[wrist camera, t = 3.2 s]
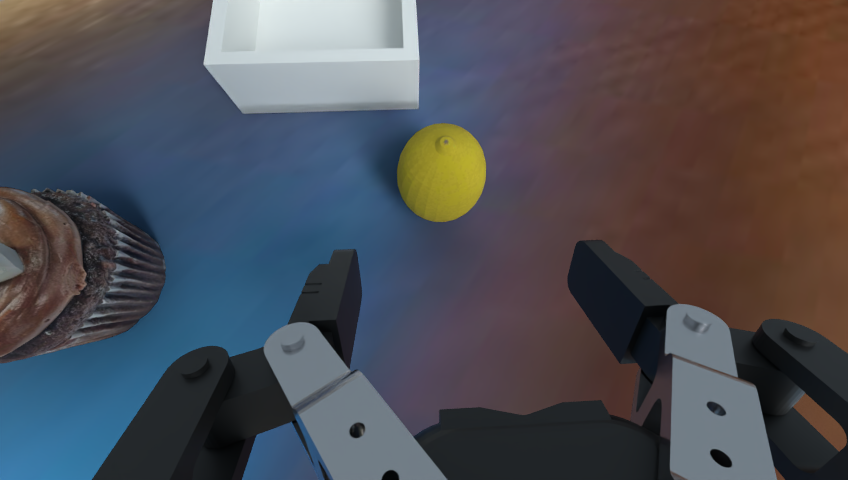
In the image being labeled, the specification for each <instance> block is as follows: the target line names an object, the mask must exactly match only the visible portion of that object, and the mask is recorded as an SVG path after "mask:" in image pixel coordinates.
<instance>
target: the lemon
mask: <svg viewBox="0 0 848 480" xmlns="http://www.w3.org/2000/svg"><path fill="white" fill-rule="evenodd" d="M485 179H486V162H485V158H484V154H483V150H482V148H481V147H480V145H479V143H478V141H477V140H476V139H475V138H474V137H473V136H472V135H471V134H470V133H469V132H468V131H466V130H465V129H463V128H461V127H459V126H456V125H453V124H446V123H441V124H433V125H430V126H427V127H425V128H423V129H421V130H420V131H418V132H416V133H415V134H414V136H413V137H412V138H411V139H410V140H409V141H408V142H407V144H406V145H405V147H404V149H403V151H402V153H401V155H400V159H399V163H398V168H397V183H398V187H399V190H400V194H401V196H402V198H403V200H404V201H405V203H406V204H407V206H408V207H409V208H410V209H411V210H412V211H413V212H414V213H415V214H416V215H418V216H420V217H422V218H424V219H426V220H430V221H434V222H446V221H450V220H454V219H457V218H458V217H460V216H462V215H464V214H465V213H467V212H468V211H469V210H470V209H471V208H472V207H473V206H474V205H475V203H476V202H477V200H478V199H479V197H480V195H481V193H482V190H483V187H484V184H485Z"/></svg>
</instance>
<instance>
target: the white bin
mask: <svg viewBox="0 0 848 480" xmlns="http://www.w3.org/2000/svg"><path fill="white" fill-rule="evenodd" d="M204 66H205V67H206V68H207V70H208V71H209V72H210V73H211V75H212V76H213V77H214V78H215V79H216V81H217V82H218V83H219V84H220V86H221V87H222V88H223V89H224V91H225V92H226V93H227V94H228V96H229V97H230V98H231V99H232V101H233V102H234V103H235V104H236V105H237V107H238V108H239V109H240V110H241V112H242V113H243V114H250V113H287V112H324V111H360V110H397V109H419V48H418V30H417V13H416V0H213V6H212V12H211V19H210V25H209V32H208V39H207V45H206V52H205V59H204Z"/></svg>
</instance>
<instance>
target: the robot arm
mask: <svg viewBox="0 0 848 480" xmlns="http://www.w3.org/2000/svg"><path fill="white" fill-rule="evenodd" d="M568 287H569V290H570V292H571V294H572V295H573V296H574V298H575V299H576V301H577V302H578V304H579V305H580V307H581V308H582V309H583V311H584V312H585V314H586V315H587V317H588V318H589V320H590V321H591V322H592V324H593V325H594V327H595V328H596V330H597V331H598V333H599V334H600V335H601V337H602V338H603V340H604V341H605V343H606V344H607V346H608V347H609V348H610V350H611V351H612V353H613V354H614V356H615V357H616V359H617V360H618V361H619V363H620V364H627V363H638V365H639V366H640V368H639V370H638V372H637V375H636V383H635V390H634V397H633V405H632V412H631V419H630V421H629V420H626V419H624V418H620V417H617V416H614V415H609V413H608V412H607V410H606V408H605V406H604V404H603V403H602V401H601V400H598V401H580V402H563V403H559V404H557V405H554V406H551V407H548V408H545V409H542V410H540V411H537V412H534V413H531V414H528V415H518V414H512V413H507V412H502V411H496V410H491V409H486V408H480V407H478V408H461V409H444V410H439V423H438V424H435V425H433V426H430V427H428V428H426V429H424V430H422V431H421V432H419V433H418V434H417V435H415V436H414V437H413V436H412V435H411V434H410V432H409V431H408V430H407V429H406V427H405V426H404V425H403V424H402V422H401V421H400V420H399V419H398V417H397V416H396V415H395V414H394V412H393V411H392V410H391V409H390V407H389V406H388V405H387V404H386V402H385V401H384V400H383V399H382V397H381V396H380V395H379V394H378V392H377V391H376V390H375V389H374V387H373V386H372V385H371V384H370V382H369V381H368V380H367V379H366V377H365V376H364V375H363V374H362V373H361V372H360V371H359V370H354V371H353V372H351V371H350V370H349V368H350V362H351V357H352V351H353V345H354V340H355V334H356V328H357V322H358V317H359V311H360V305H361V298H362V287H361V279H360V272H359V264H358V257H357V252H356V250H355V249H347V250H334V251H333V254H332V257H331V259H330V262H329V264H319V265H318V266H317V267H316V268H315V269H314V270H313V271H312V272H311V273H310V274H309V276H308V278H307V280H306V283H305V286H304V287H303V290H302V294H300V297H299V299H298V301H297V304H296V306H295V308H294V311H293V313H292V315H291V318H290V320H289V322H288V325H286V326H284V327H282V328H280V329H278V330H277V331H275V332H274V333H273V334H272V335H271V336H270V337H269V338H268V339H267V341H266V343H265V345H264V347H261V348H259V349H256V350H253V351H249V352H246V353H243V354H239V355H236V356H232V357H229V355H228V353H227V351H226V350H225V349H223V348H221V347H218V346H207V347H202V348H198V349H196V350H193V351H191V352H189V353H187V354H185V355H183V356H182V357H180V358H179V359H177V360H176V361H175V362H174V363H173V364H172V365H171V366H170V367H169V368H168V369H167V370H166V371H165V373H164V374H163V376H162V377H161V379H160V380H159V382H158V383H157V385H156V386H155V388H154V389H153V391H152V392H151V393H150V395H149V396H148V398H147V399H146V401H145V402H144V404H143V405H142V407H141V408H140V410H139V411H138V413H137V414H136V416H135V417H134V419H133V420H132V421H131V423H130V424H129V426H128V427H127V429H126V430H125V432H124V433H123V435H122V436H121V438H120V439H119V441H118V442H117V444H116V445H115V446H114V448H113V449H112V451H111V452H110V454H109V455H108V457H107V458H106V460H105V461H104V463H103V464H102V466H101V467H100V469H99V470H98V472H97V473H96V474H95V476H94V477H93V479H92V480H242V477H243V474H244V471H245V468H246V465H247V462H248V459H249V456H250V453H251V450H252V447H253V444H254V441H255V438H256V435H257V434H260V433H262V432H265V431H268V430H270V429H273V428H276V427H279V426H281V425H284V424H287V423H289V422H291V424H292V426H293V428H294V430H295V432H296V434H297V436H298V438H299V440H300V442H301V444H302V446H303V448H304V450H305V452H306V454H307V456H308V458H309V460H310V462H311V464H312V466H313V468H314V470H315V473H316V475H317V477H318V479H319V480H777V478H776V474H775V469H774V467H775V468H776V469H777V470H778V471H779V473H780V474H781V475H782V476H783V477H784V478H785V480H848V354H847V353H846V352H845V351H843V350H842V349H840V348H839V347H838V346H836V345H835V344H833V343H832V342H831V341H829V340H828V339H826V338H825V337H823V336H822V335H820V334H819V333H817V332H815V331H813V330H811V329H809V328H807V327H804V326H802V325H799V324H796V323H793V322H790V321H785V320H780V319H769V320H765V321H764V322H763V323H762V324H761V326H760V327H759V329H758V330H757V332H751V331H745V330H739V329H733V328H728V326H727V325H726V324H725V323H724V322H723V321H722V320H721V319H720V318H718V317H717V316H716V315H714V314H712V313H710V312H708V311H706V310H704V309H701V308H698V307H695V306H691V305H686V304H678V303H677V302H676V301H675V300H674V299H673V298H672V297H671V296H669V295H668V294H667V293H666V292H665V291H664V290H663V289H662V288H661V287H660V286H659V285H657V284H656V283H655V282H654V281H653V280H652V279H650V277H649V276H648V275H647V274H646V273H644V272H642V271H641V269H640V268H639V267H638V266H637V265H636V264H635V263H634V262H632V261H631V260H629V259H628V258H626V257H624V256H622V255H620V254H618V253H616V252H614V251H613V250H612V249H611V248H610V247H609V246H608V245H607V244H606V243H605V242H604V241H602V240H586V241H579V242H577V244H576V246H575V250H574V254H573V258H572V261H571V265H570V269H569V273H568ZM805 393H806V394H807V395H808V396H809V397H811V398H812V399H813V400H814V401H815V402H816V403H817V404H818V405H819V406H821V407H822V408H823V409H824V410H825V411H826V412H827V413H828V414H829V415H831V416H832V417H833V418H834V419H835V420H836V421H837V422H838V423H839V424H840V425H841V426H842V428H843V429H844V431H845V433H846V436H847V444H846V446H845V447H844V448H843V449H842V450H841V451H840V452H839V451H838V450H837V449H836V448H835V447H834V446H832V445H831V444H830V443H829V442H828V441H827V440H826V439H825V438H824V437H823V436H822V435H821V434H820V433H819V432H818V431H817V430H816V429H815V428H814V427H813V426H812V425H811V424H810V423H809V422H808V421H807V420H806V419H805V418H804V417H803V416H802V415H801V414H800V413H798V412H797V411H796V410H795V409H794V408H793V406H794V405H795V404H796V403H797V402H798V400H799V399H800V398H801V397H802V396H803V395H804V394H805Z"/></svg>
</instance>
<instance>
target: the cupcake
mask: <svg viewBox="0 0 848 480" xmlns="http://www.w3.org/2000/svg"><path fill="white" fill-rule="evenodd" d="M165 269H166V266H165V261H164V256H163V254H162V252H161V250H160V247H159V244H158V243H157V242H156V241H155V240H154V239H152V238H151V237H150V236H149V235H148V234H147V233H145V232H144V231H142V230H141V229H139V228H138V227H136V226H135V225H133V224H131V223H130V222H128V221H126V220H125V219H123V218H122V217H120V216H118V215H117V214H115V213H114V212H113V211H111V210H110V209H109V208H107V207H106V206H104V205H102V204H101V203H99V202H98V201H96V200H95V199H93V198H92V197H90V196H86V195H85V194H83V193H82V192H80V193H78V194H77V193H76V192H74V191H73V190H66V192H64V191H62V190H60V189H57V191H56V192H54V191H52V190H50V189H48V188H46V189H45V190H44V191H43V192H40V191H38V190H36V189H33V190H31V193H28V192H25V191H22V190H18V189H13V188H9V187H0V363H7V362H12V361H16V360H21V359H25V358H29V357H33V356H37V355H42V354H46V353H51V352H55V351H58V350H62V349H65V348H69V347H74V346H78V345H82V344H86V343H90V342H95V341H99V340H103V339H106V338H110V337H113V336H115V335H118V334H121V333H123V332H125V331H128V330H129V329H130V328H131V327H133V326H134V325H135V324H136V323H137V322H138V320H139V319H140V318H142V317H143V316H145V315H146V314H147V313H148V312H149V311H150V310H151V309H152V308H153V306H154V305H155V304H156V302H157V301H158V299H159V296H160V293H161V290H162V288H163V286H164V283H165V277H166V276H165Z"/></svg>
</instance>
